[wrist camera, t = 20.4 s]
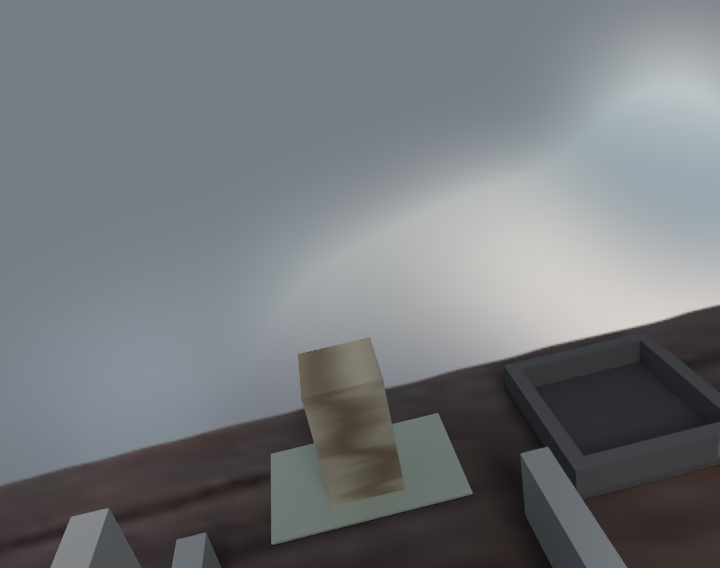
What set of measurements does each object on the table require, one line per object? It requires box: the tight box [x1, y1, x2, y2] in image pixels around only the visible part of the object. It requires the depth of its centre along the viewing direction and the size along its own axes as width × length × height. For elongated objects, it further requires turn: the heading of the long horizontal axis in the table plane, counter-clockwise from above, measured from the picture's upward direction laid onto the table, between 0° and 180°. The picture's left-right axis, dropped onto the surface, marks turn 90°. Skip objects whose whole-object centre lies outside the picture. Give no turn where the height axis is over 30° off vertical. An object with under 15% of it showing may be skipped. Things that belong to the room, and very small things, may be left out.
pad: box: [271, 413, 473, 545], centre depth 49 cm, size 16×10×1 cm, turn 99°
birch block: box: [298, 338, 405, 507], centre depth 46 cm, size 6×6×11 cm
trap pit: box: [504, 331, 720, 500], centre depth 48 cm, size 14×14×3 cm
